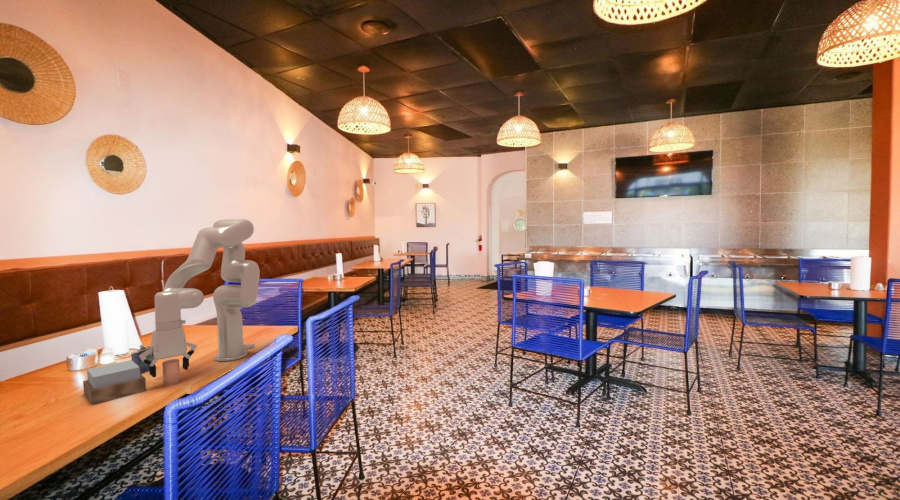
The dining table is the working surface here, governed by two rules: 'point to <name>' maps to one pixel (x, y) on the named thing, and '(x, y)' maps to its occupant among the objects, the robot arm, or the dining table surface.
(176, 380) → the brown rectangular block
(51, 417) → the dining table surface
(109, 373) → the top block
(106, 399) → the bottom block
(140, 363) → the dark panel with clover
